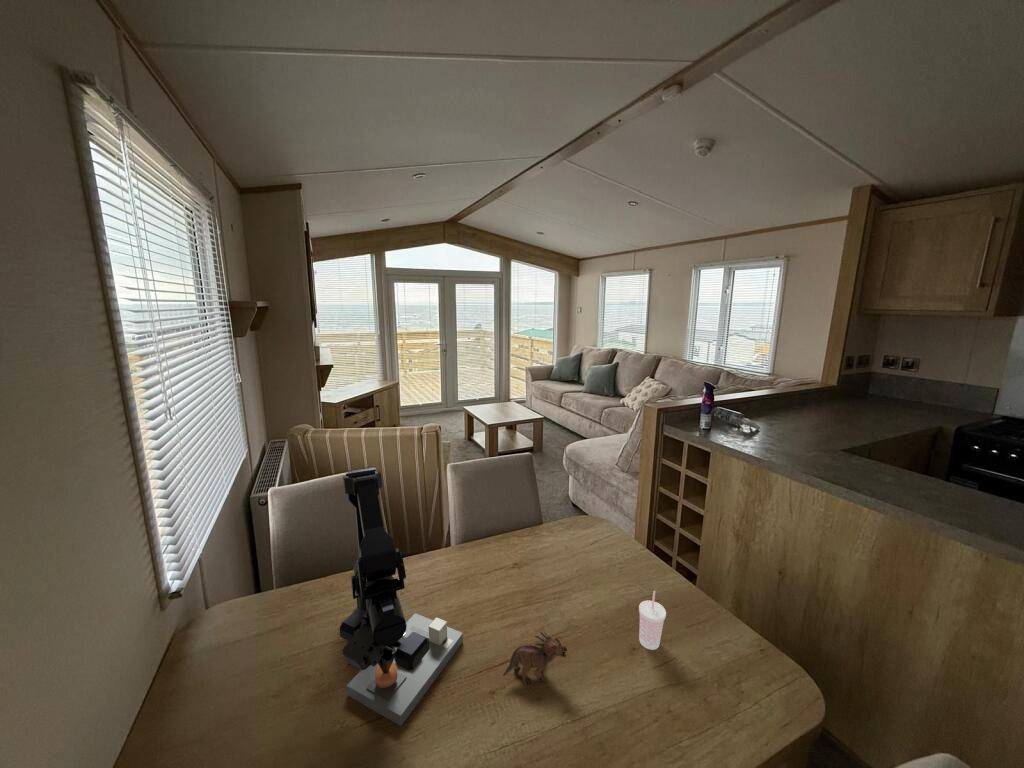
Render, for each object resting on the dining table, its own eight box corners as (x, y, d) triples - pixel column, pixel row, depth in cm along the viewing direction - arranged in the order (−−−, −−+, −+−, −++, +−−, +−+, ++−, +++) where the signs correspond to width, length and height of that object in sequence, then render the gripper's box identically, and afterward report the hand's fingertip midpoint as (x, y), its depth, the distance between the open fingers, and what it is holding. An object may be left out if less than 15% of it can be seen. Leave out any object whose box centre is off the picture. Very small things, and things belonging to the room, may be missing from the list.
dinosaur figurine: (558, 656, 96) (560, 622, 94) (566, 679, 90) (568, 643, 88) (499, 664, 93) (500, 629, 91) (503, 688, 88) (503, 652, 86)
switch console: (347, 695, 86) (346, 684, 85) (415, 621, 105) (415, 612, 105) (401, 726, 80) (400, 714, 79) (462, 641, 99) (462, 631, 99)
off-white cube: (429, 640, 96) (428, 626, 95) (436, 631, 99) (436, 617, 98) (439, 645, 95) (439, 630, 94) (447, 636, 98) (446, 621, 97)
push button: (370, 686, 85) (370, 675, 84) (385, 669, 89) (385, 659, 88) (387, 695, 83) (386, 684, 82) (402, 677, 87) (401, 667, 86)
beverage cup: (667, 641, 100) (672, 590, 97) (655, 657, 96) (661, 604, 93) (643, 627, 104) (647, 578, 101) (631, 642, 100) (635, 591, 97)
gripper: (313, 617, 79) (320, 685, 82) (390, 655, 71) (394, 728, 74) (358, 581, 88) (363, 643, 92) (430, 611, 81) (432, 677, 84)
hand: (386, 671), depth 85 cm, fingers closed, pressing on push button
